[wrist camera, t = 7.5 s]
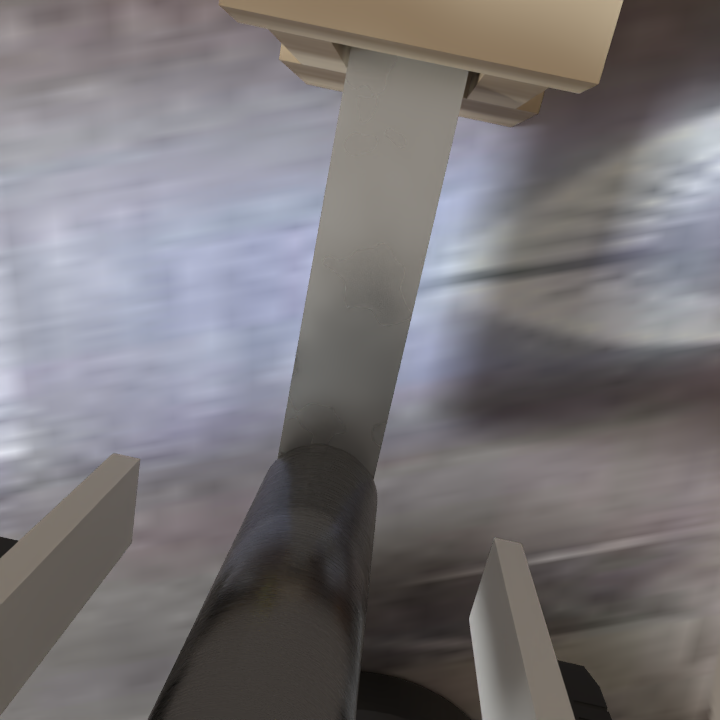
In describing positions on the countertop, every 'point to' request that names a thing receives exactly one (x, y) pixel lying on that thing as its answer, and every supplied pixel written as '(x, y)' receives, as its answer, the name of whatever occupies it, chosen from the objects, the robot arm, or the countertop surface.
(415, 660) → the countertop surface
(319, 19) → the block
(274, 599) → the grey l-shaped piece
